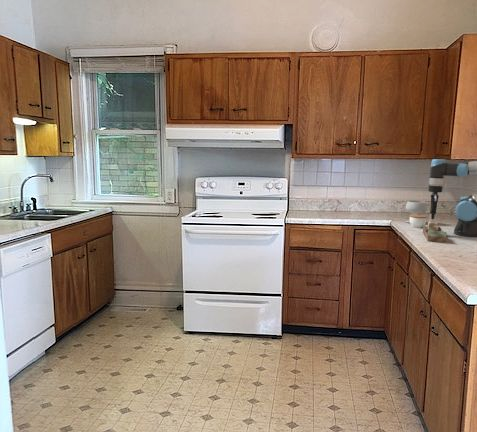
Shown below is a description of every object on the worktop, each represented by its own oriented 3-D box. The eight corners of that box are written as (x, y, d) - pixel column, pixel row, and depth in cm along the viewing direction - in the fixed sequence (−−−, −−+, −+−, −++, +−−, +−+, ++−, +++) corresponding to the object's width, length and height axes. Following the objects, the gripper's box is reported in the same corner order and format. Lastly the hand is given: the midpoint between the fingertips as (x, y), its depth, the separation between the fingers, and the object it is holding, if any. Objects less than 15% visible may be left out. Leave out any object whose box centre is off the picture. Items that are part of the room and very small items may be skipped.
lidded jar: (411, 224, 288) (412, 211, 286) (428, 227, 281) (429, 213, 279) (406, 226, 279) (407, 212, 278) (423, 229, 273) (424, 214, 271)
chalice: (418, 225, 287) (420, 203, 285) (400, 221, 299) (402, 200, 297) (430, 223, 295) (432, 202, 293) (412, 220, 307) (414, 200, 304)
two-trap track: (438, 233, 258) (439, 224, 257) (445, 242, 232) (446, 231, 231) (422, 232, 260) (423, 223, 259) (427, 241, 235) (428, 230, 234)
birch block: (435, 229, 254) (436, 222, 254) (436, 230, 250) (437, 223, 249) (427, 229, 256) (428, 221, 255) (428, 230, 252) (429, 222, 251)
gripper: (428, 184, 259) (424, 221, 263) (429, 185, 247) (425, 225, 250) (441, 184, 256) (437, 223, 260) (444, 186, 244) (439, 226, 248)
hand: (431, 224), depth 255 cm, fingers closed
